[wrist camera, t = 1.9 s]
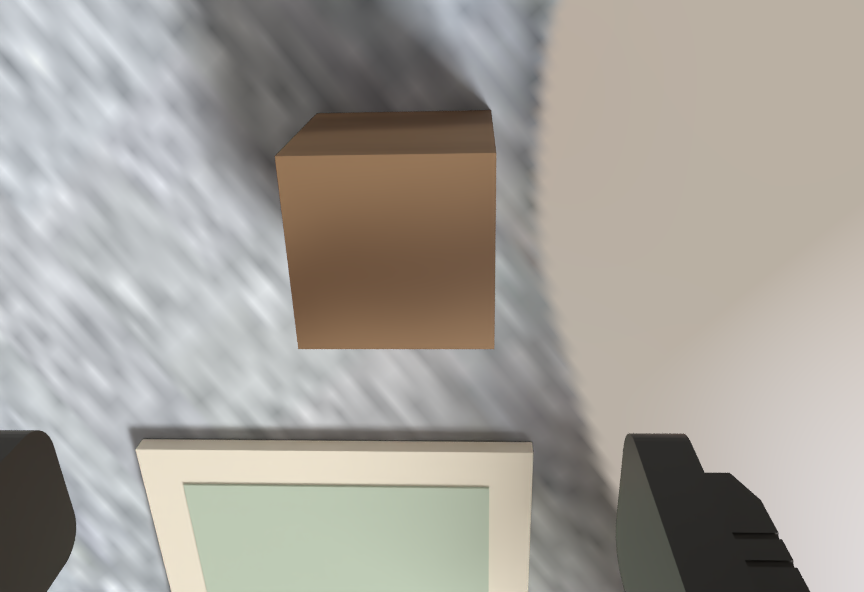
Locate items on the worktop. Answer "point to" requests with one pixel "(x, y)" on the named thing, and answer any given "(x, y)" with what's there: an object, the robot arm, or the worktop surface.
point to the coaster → (340, 514)
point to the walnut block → (391, 229)
